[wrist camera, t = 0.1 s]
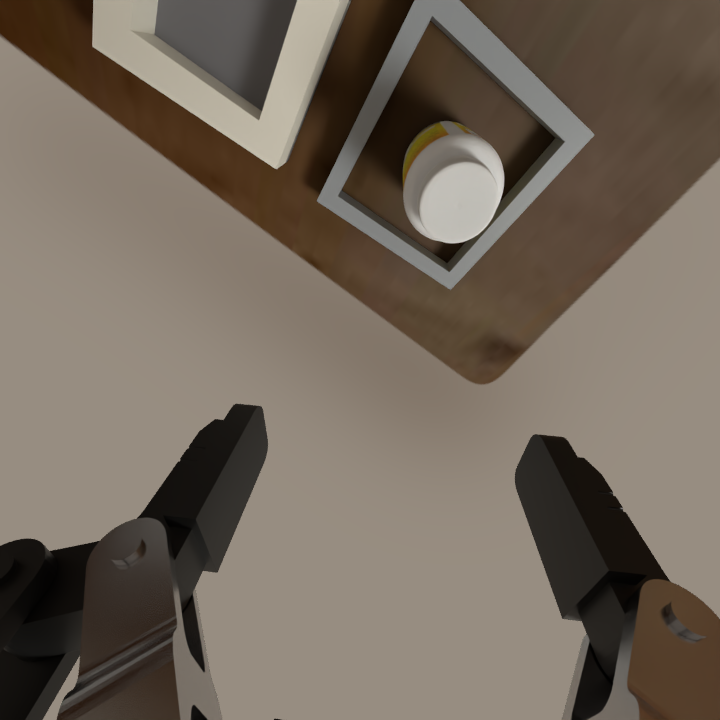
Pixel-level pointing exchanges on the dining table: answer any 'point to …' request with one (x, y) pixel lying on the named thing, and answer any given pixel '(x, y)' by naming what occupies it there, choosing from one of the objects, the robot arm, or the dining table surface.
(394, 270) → the dining table surface
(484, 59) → the tray
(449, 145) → the supplement bottle
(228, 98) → the holder
